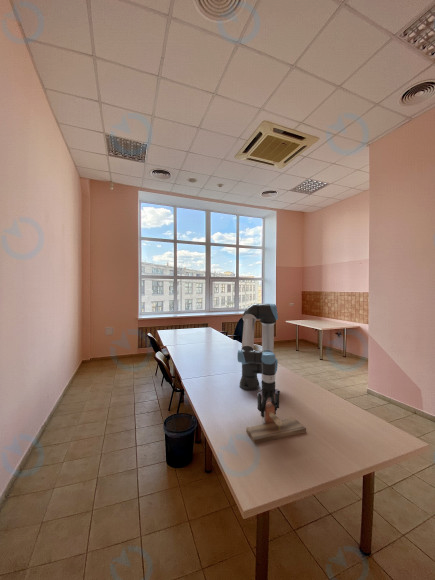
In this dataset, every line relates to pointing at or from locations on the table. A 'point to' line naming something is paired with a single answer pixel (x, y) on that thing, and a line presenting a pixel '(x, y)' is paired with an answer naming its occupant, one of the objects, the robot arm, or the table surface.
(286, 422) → the board
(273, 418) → the mallet
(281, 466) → the table surface
